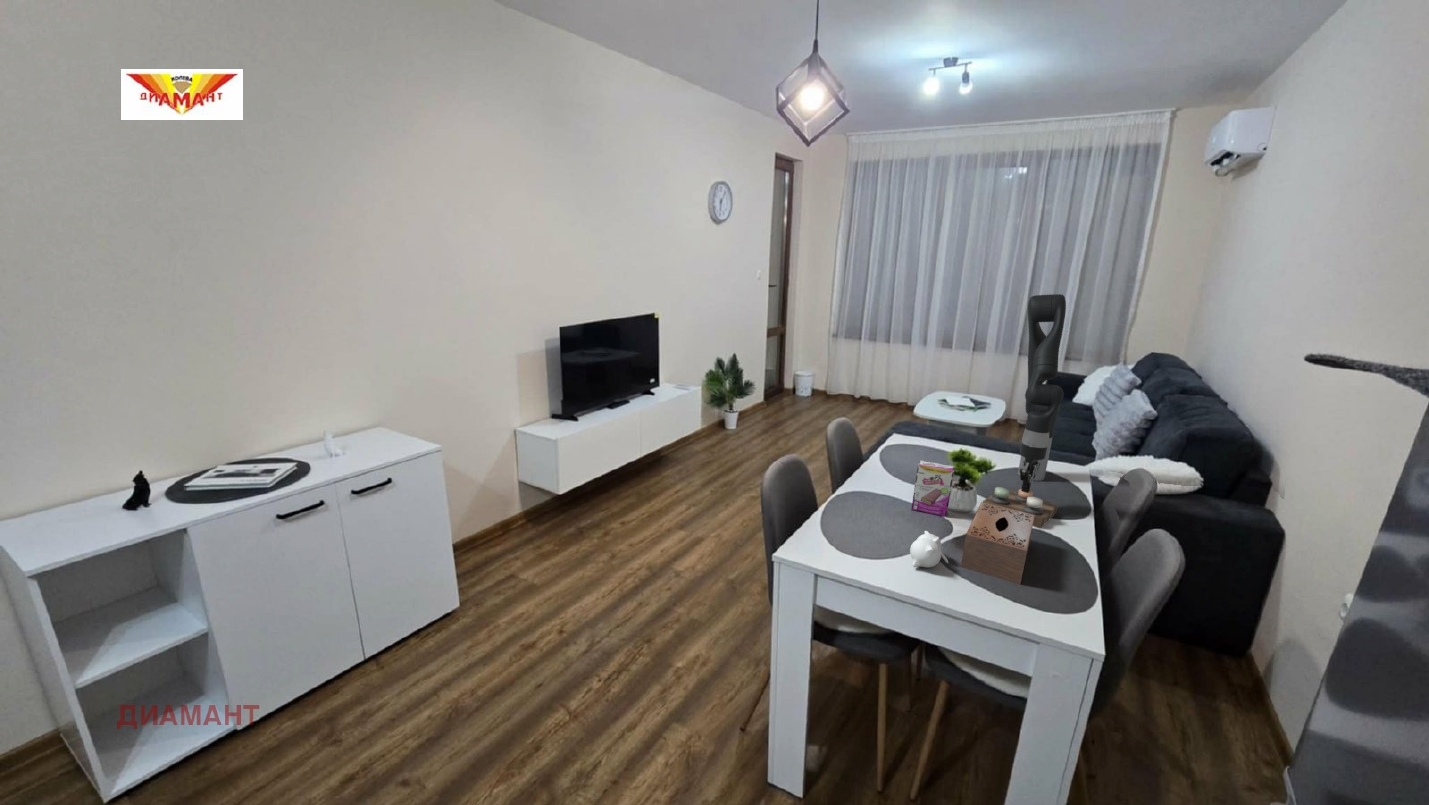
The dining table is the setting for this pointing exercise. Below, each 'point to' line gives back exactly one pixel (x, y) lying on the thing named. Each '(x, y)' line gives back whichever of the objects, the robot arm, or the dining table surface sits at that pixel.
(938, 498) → the candy bar box
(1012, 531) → the tissue box cover
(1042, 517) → the walnut button panel
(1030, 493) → the terracotta button
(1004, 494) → the sage-green button
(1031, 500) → the cream button
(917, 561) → the cat figurine
